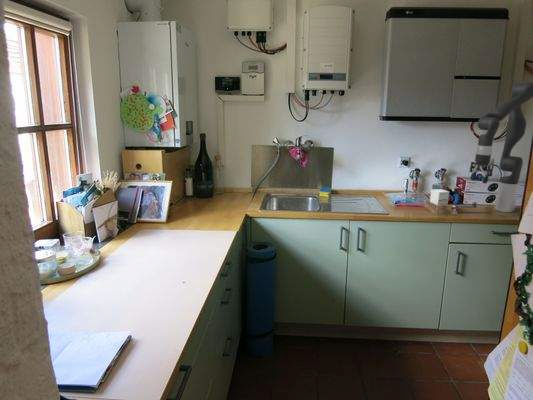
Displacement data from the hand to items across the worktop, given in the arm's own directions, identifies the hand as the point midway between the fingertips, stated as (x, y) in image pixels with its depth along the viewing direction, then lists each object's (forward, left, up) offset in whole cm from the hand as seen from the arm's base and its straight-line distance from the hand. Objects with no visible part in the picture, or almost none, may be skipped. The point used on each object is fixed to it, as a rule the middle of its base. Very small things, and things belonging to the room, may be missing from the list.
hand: (479, 181), depth 219 cm
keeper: (+15, -9, -20) cm, 27 cm away
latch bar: (+4, -4, -17) cm, 18 cm away
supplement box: (+17, -10, -20) cm, 28 cm away
